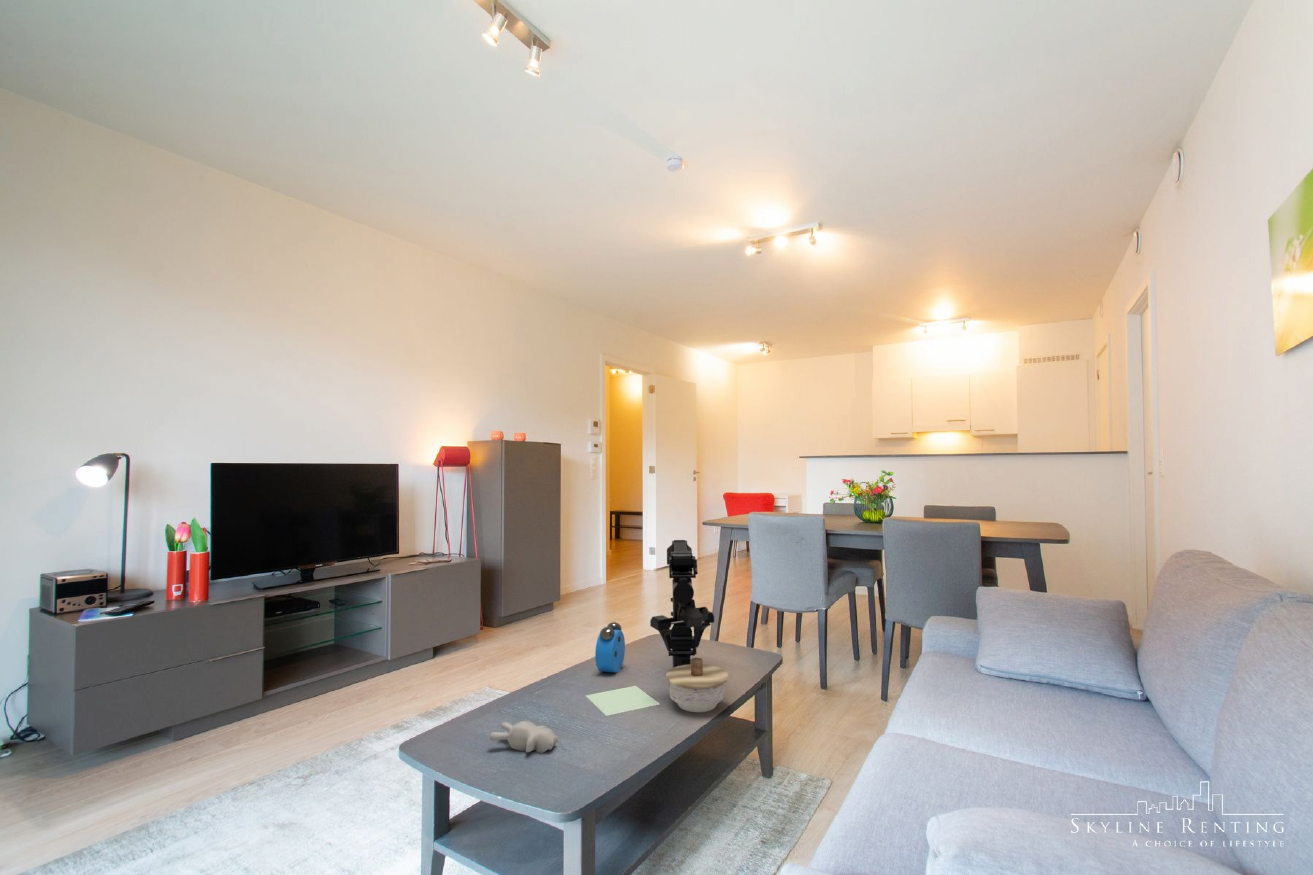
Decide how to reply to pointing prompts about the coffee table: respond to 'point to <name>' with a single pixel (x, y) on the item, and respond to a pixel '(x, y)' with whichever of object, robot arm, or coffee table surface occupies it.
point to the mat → (621, 700)
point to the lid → (697, 675)
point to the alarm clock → (610, 648)
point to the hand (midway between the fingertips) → (683, 649)
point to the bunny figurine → (526, 736)
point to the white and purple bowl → (697, 697)
